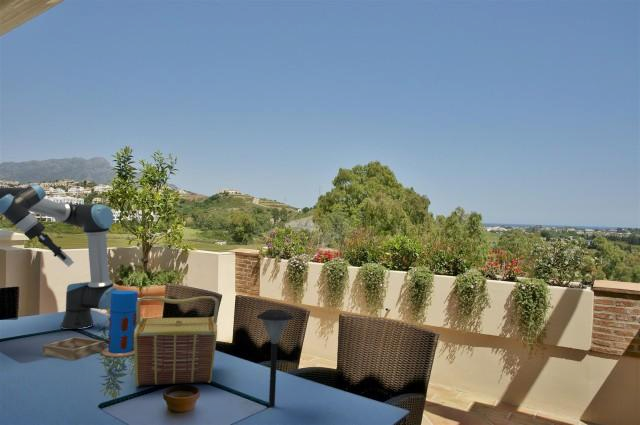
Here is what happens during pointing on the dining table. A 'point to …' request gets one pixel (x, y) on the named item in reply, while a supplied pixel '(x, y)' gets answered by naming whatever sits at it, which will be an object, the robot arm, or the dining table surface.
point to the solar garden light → (274, 341)
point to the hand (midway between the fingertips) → (70, 263)
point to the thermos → (122, 321)
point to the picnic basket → (174, 347)
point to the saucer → (107, 353)
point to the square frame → (63, 351)
